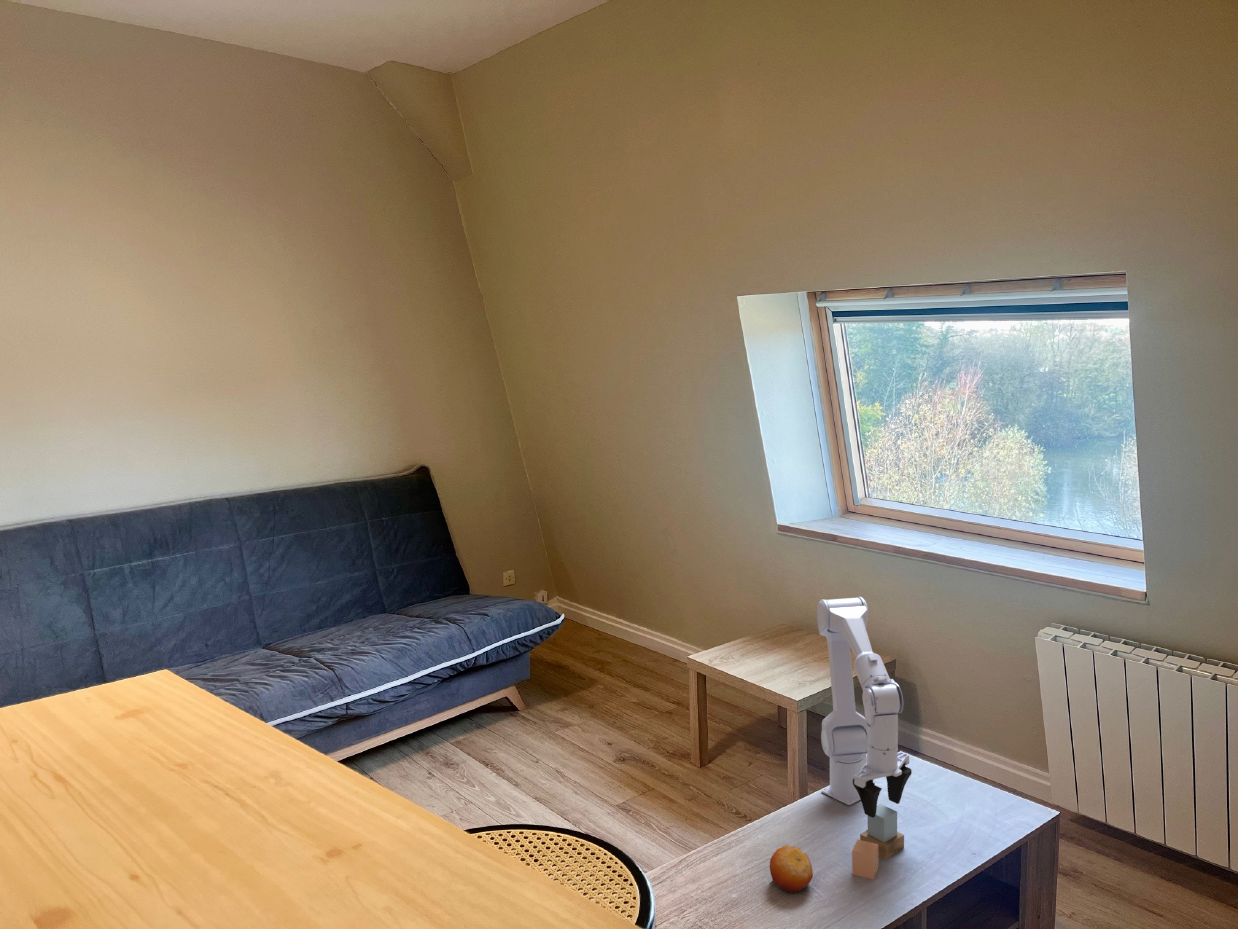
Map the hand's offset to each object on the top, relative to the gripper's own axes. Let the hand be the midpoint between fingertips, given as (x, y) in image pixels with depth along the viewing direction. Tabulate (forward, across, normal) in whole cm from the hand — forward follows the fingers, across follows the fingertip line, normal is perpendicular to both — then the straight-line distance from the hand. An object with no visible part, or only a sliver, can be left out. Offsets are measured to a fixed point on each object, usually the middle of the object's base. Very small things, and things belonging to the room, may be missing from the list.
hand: (882, 808), depth 181 cm
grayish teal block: (+6, 0, 0) cm, 6 cm away
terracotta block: (+8, -9, -3) cm, 13 cm away
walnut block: (+8, 0, 0) cm, 9 cm away
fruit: (+8, -23, +3) cm, 25 cm away
